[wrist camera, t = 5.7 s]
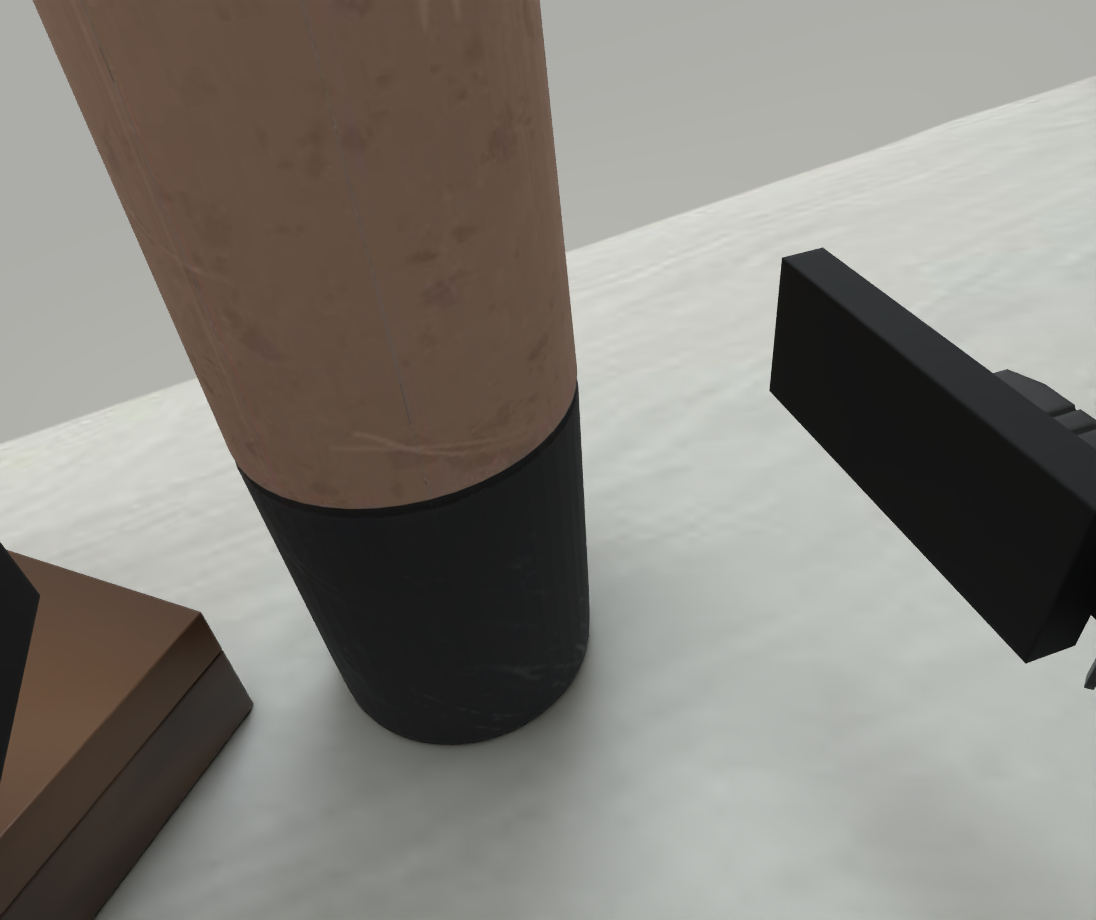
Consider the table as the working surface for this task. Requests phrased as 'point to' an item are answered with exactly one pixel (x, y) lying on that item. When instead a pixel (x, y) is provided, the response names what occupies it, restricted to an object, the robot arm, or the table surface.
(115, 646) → the walnut shelf
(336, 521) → the travel mug
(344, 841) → the table surface
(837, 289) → the robot arm
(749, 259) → the table surface
